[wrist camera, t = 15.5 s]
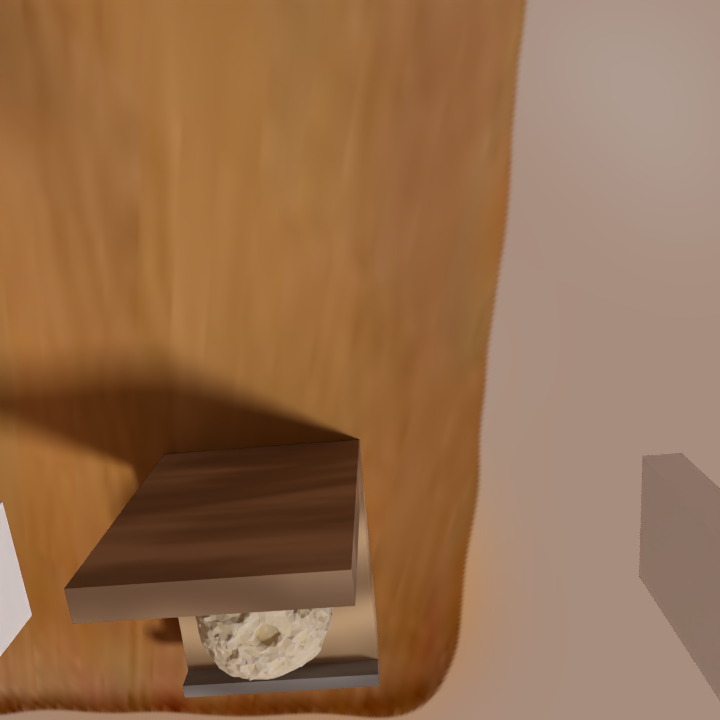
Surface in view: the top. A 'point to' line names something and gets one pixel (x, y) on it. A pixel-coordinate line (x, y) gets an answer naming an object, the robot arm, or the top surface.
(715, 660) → the robot arm
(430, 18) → the top surface
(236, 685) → the board
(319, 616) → the sponge
